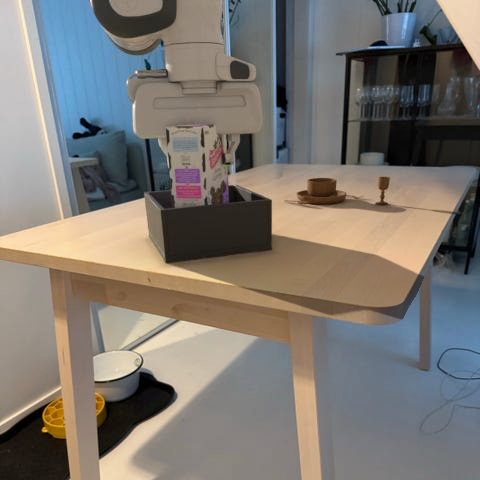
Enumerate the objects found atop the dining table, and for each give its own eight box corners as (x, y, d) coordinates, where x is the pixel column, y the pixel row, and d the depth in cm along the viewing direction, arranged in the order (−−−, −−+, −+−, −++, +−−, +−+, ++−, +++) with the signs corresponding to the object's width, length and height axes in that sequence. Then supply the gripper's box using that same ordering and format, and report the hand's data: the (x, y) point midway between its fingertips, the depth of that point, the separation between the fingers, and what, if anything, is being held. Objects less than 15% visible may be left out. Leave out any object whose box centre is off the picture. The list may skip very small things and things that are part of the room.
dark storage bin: (165, 263, 70) (160, 210, 66) (149, 236, 85) (143, 192, 81) (272, 249, 75) (272, 199, 71) (238, 226, 90) (236, 184, 86)
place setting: (330, 192, 121) (331, 169, 118) (392, 203, 106) (395, 177, 103) (278, 201, 112) (278, 176, 110) (337, 214, 97) (338, 185, 94)
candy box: (209, 239, 71) (202, 124, 64) (173, 238, 73) (163, 125, 66) (231, 220, 83) (227, 121, 77) (200, 219, 85) (193, 122, 78)
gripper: (127, 67, 63) (139, 173, 69) (266, 67, 69) (266, 164, 74) (122, 71, 68) (134, 168, 74) (251, 70, 74) (253, 160, 80)
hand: (201, 166), depth 74 cm, fingers closed on candy box, 8 cm apart
